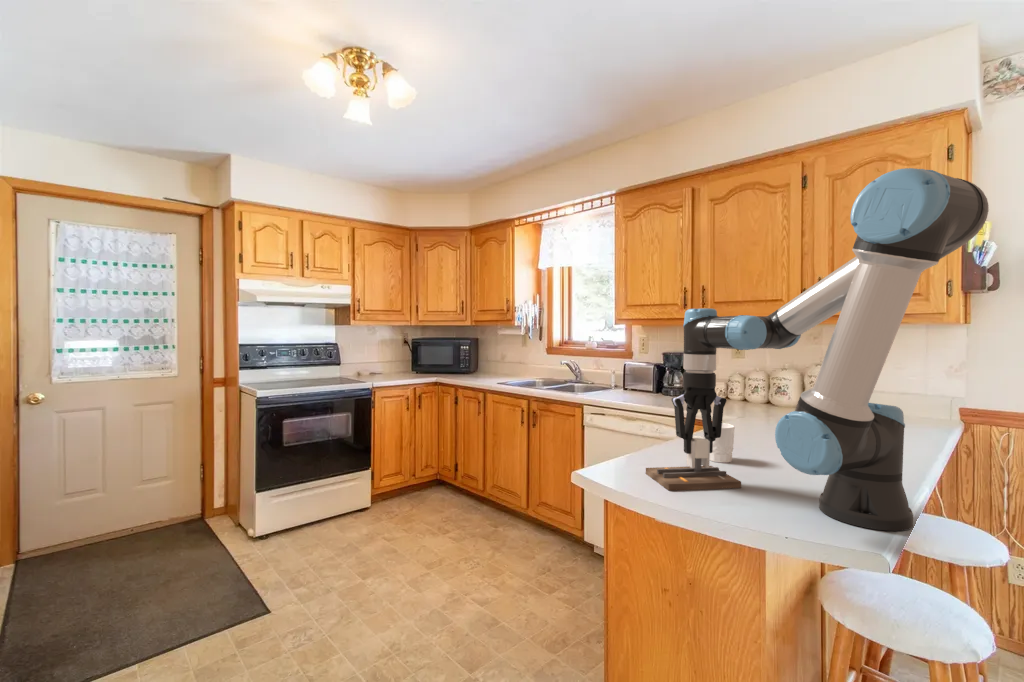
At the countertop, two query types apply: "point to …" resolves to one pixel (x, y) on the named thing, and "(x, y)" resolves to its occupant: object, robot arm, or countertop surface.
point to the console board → (692, 478)
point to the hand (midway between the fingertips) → (697, 466)
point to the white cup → (723, 445)
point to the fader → (700, 451)
